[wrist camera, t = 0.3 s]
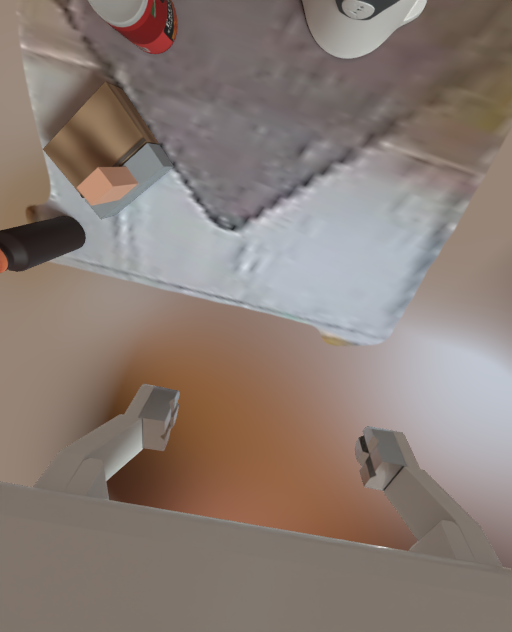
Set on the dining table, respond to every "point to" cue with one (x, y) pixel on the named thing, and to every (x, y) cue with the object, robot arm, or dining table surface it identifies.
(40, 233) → the bottle
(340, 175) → the dining table surface
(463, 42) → the dining table surface
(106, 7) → the canned food
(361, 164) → the dining table surface
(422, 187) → the dining table surface
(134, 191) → the stub
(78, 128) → the block
